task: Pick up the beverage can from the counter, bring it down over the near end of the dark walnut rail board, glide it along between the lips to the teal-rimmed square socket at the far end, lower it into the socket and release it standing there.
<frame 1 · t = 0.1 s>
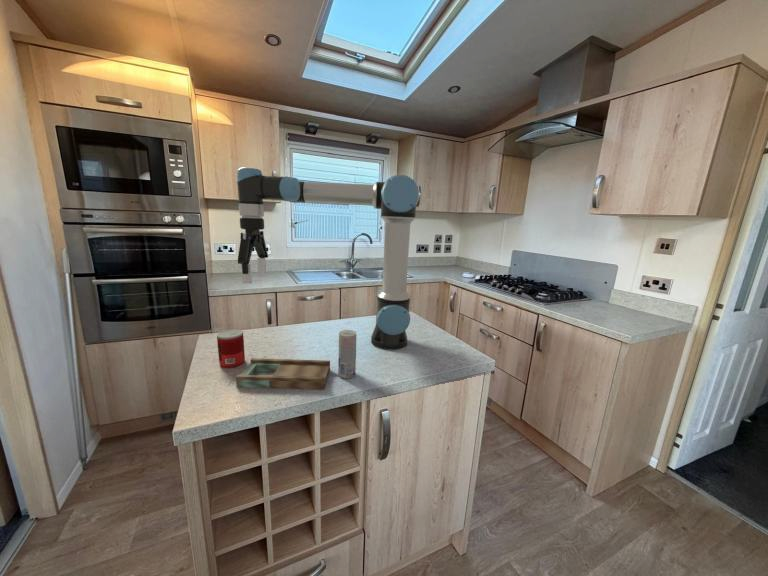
hand: (255, 279, 108), 28 cm above the countertop, fingers open, 13 cm apart
beverage can: (346, 375, 102), on the countertop
canned food: (232, 363, 106), on the countertop
rail board: (286, 378, 98), on the countertop
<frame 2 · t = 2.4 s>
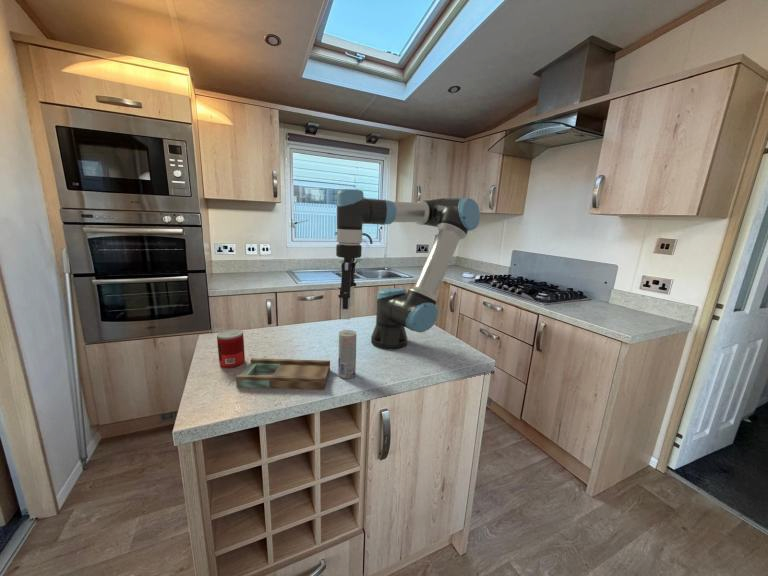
hand: (347, 312, 96), 22 cm above the countertop, fingers open, 13 cm apart
nothing on the countertop moved.
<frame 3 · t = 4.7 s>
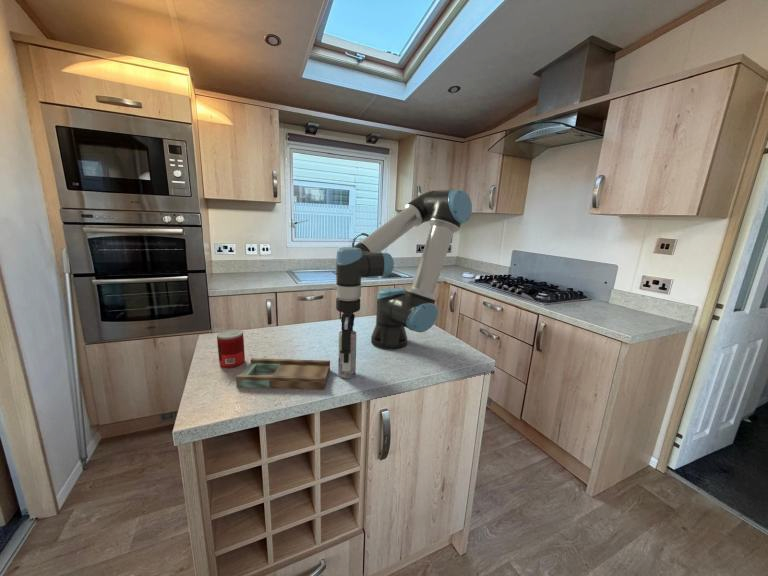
hand: (347, 365, 101), 3 cm above the countertop, fingers closed on beverage can, 5 cm apart
beverage can: (346, 375, 102), on the countertop, touching gripper
everything else where it was.
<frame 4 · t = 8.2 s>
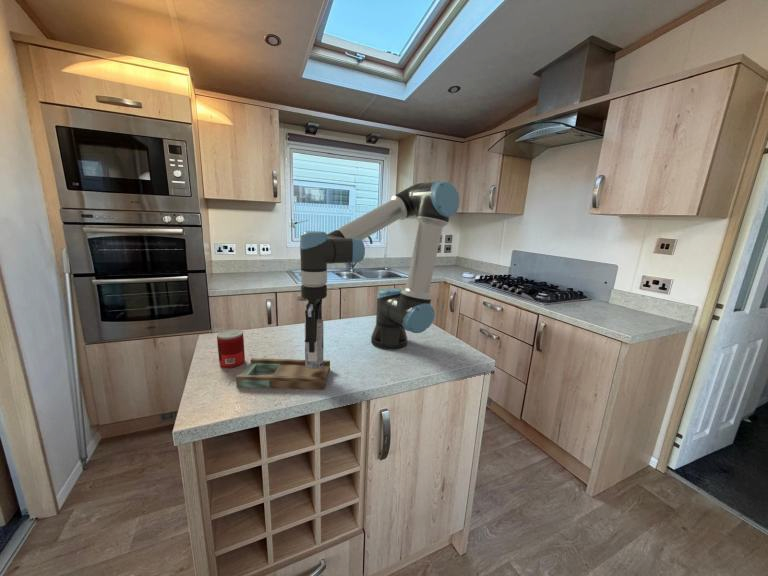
hand: (314, 356, 97), 8 cm above the countertop, fingers closed on beverage can, 5 cm apart
beverage can: (314, 366, 97), point 4 cm above the countertop, touching gripper
everything else where it was.
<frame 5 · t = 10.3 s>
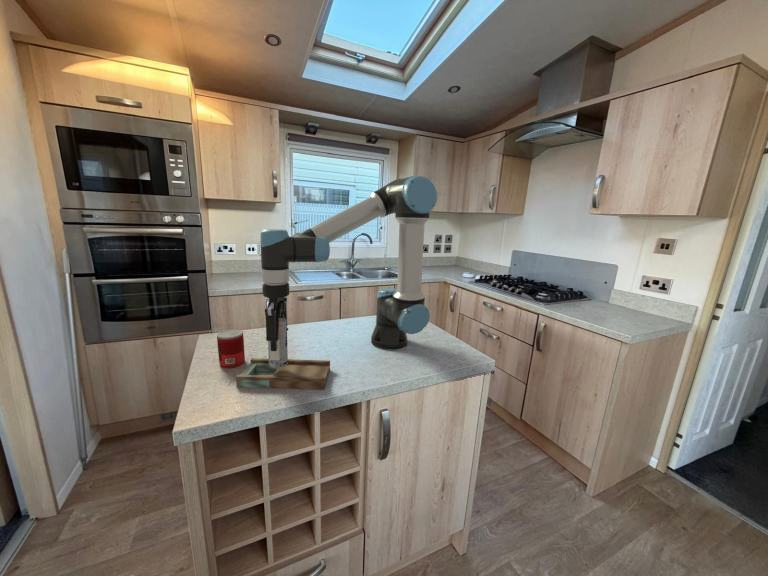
hand: (278, 354, 96), 8 cm above the countertop, fingers closed on beverage can, 5 cm apart
beverage can: (278, 365, 97), point 4 cm above the countertop, touching gripper
everything else where it was.
when the fingers open (5 cm above the countertop, at t = 12.2 s): beverage can drops 2 cm, resting in rail board.
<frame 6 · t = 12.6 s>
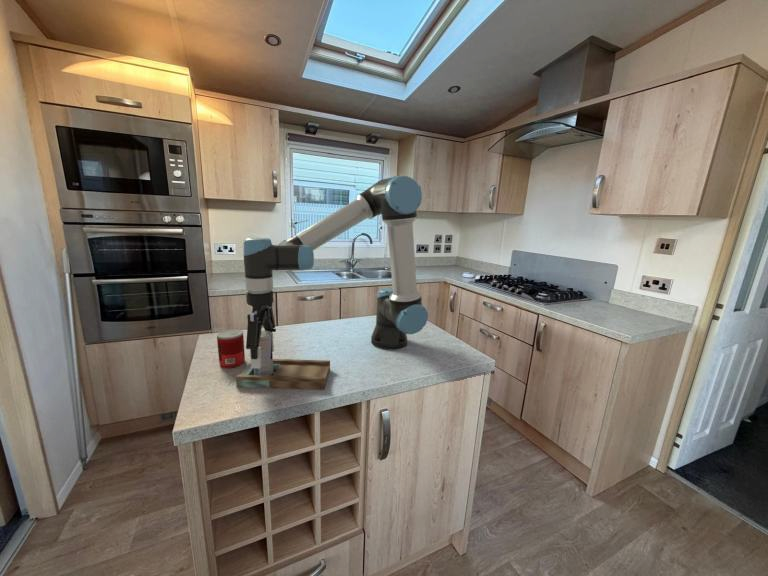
hand: (263, 359, 96), 6 cm above the countertop, fingers open, 10 cm apart
beverage can: (264, 378, 98), resting in rail board
everything else where it was.
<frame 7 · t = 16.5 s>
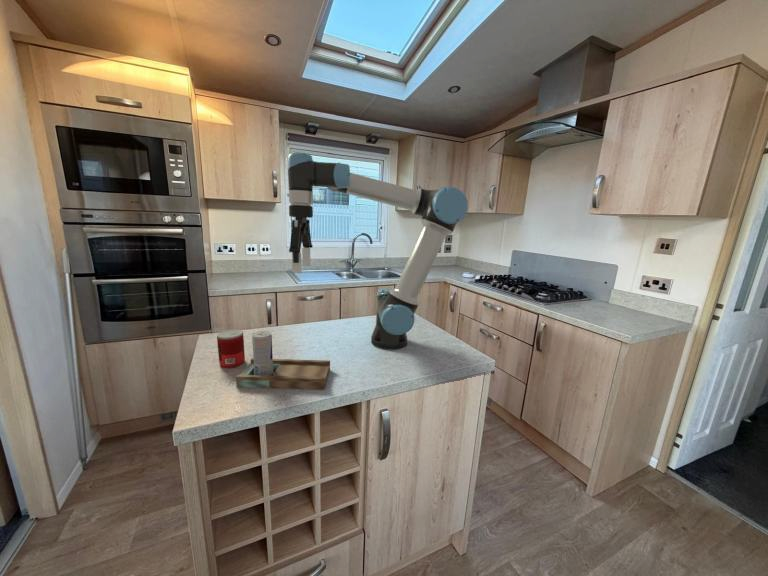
hand: (302, 269, 105), 33 cm above the countertop, fingers open, 13 cm apart
nothing on the countertop moved.
at the end: beverage can 0.0 cm from the target spot on the rail board, point 0.0 cm above the rail board's base; beverage can tilted 0°; the gripper is holding nothing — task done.
